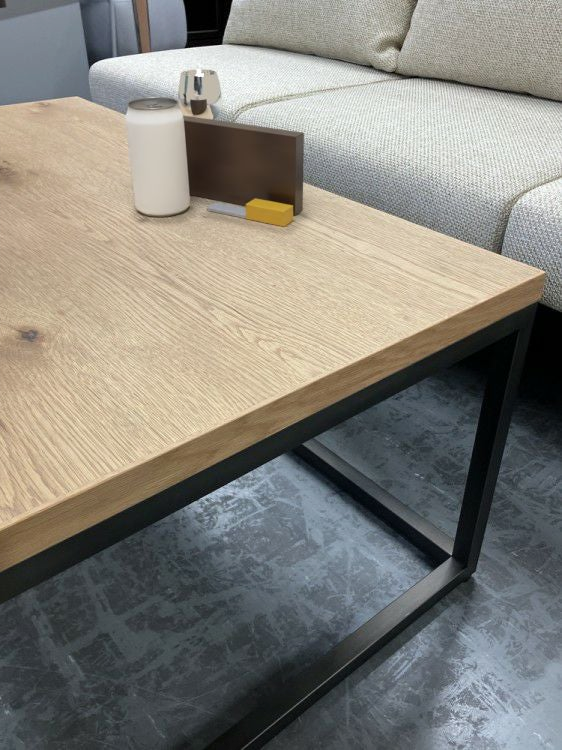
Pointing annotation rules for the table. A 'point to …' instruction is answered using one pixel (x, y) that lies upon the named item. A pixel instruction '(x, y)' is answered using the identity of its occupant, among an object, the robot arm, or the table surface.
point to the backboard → (244, 162)
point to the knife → (258, 211)
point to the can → (157, 156)
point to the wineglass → (200, 94)
